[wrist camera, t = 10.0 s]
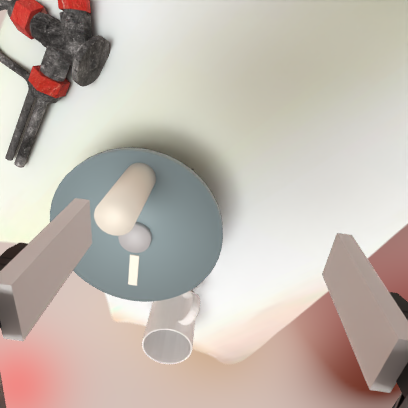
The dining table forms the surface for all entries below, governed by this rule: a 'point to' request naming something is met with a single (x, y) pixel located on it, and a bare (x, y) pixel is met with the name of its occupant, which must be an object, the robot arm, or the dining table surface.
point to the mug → (171, 328)
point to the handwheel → (143, 224)
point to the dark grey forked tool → (52, 60)
